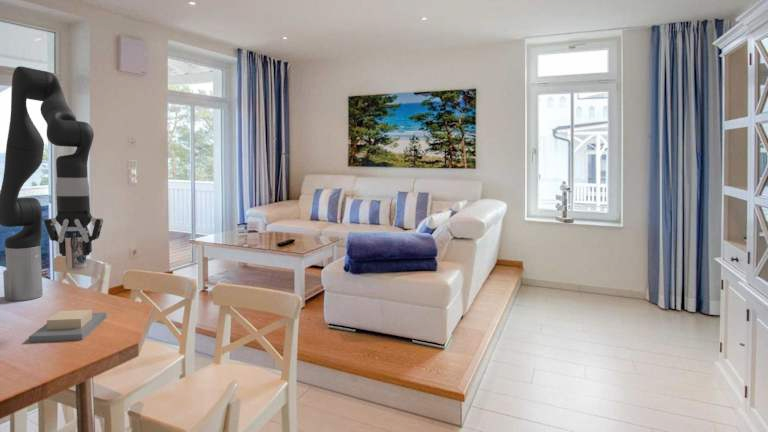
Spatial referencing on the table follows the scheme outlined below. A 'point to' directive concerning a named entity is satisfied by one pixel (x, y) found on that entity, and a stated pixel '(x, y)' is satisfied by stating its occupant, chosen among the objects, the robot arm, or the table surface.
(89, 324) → the slate board
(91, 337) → the table surface
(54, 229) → the robot arm
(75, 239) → the beer can
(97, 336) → the table surface
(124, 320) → the table surface
